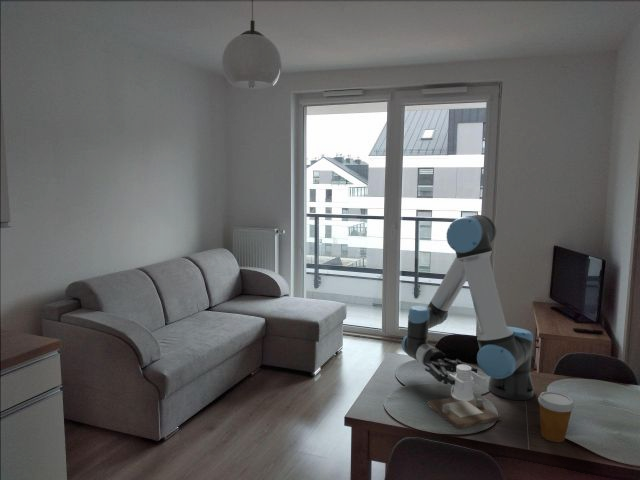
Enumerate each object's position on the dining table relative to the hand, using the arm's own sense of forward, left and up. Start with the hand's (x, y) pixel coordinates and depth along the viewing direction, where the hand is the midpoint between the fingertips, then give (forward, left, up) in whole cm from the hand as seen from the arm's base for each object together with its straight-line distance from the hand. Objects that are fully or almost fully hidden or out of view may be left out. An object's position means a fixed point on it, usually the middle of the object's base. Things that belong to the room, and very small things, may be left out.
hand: (473, 385), depth 149 cm
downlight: (+2, -4, -6) cm, 8 cm away
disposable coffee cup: (-22, +7, -11) cm, 26 cm away
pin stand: (+2, -4, -11) cm, 12 cm away
